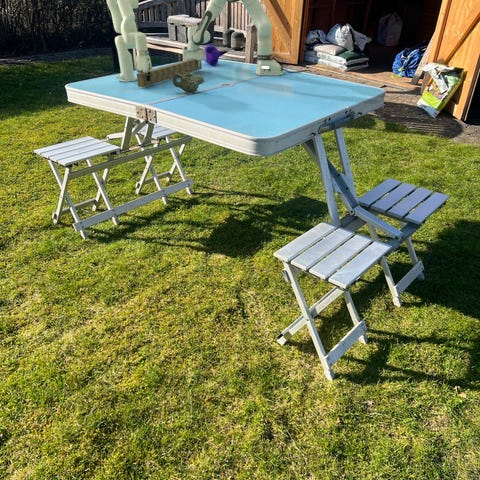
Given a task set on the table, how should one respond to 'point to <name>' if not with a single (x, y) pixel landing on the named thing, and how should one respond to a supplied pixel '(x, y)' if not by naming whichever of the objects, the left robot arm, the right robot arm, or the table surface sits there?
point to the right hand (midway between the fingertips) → (195, 65)
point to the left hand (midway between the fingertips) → (145, 80)
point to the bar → (167, 72)
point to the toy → (213, 54)
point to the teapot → (188, 81)
